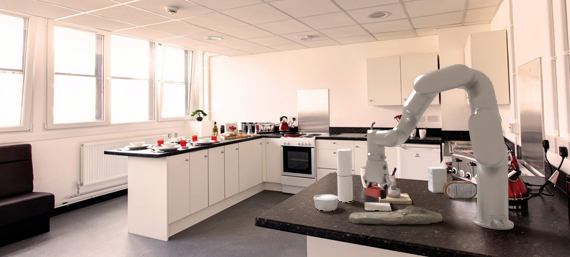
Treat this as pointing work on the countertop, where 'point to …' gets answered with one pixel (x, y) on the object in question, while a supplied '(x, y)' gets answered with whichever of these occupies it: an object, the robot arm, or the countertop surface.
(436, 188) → the supplement box
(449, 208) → the countertop surface
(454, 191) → the tin
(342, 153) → the cylindrical container
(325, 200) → the ramekin
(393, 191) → the stand
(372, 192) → the red white square box
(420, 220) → the elongated rock
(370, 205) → the pad
